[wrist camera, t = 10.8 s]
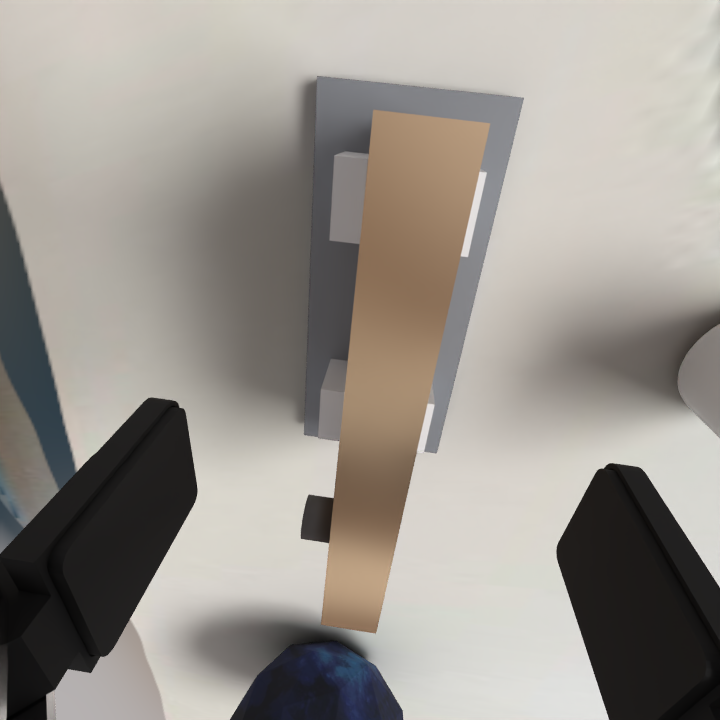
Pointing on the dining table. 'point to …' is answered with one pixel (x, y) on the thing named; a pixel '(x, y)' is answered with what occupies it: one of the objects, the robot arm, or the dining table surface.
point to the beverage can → (703, 379)
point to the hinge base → (343, 230)
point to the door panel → (393, 347)
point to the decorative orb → (319, 687)
